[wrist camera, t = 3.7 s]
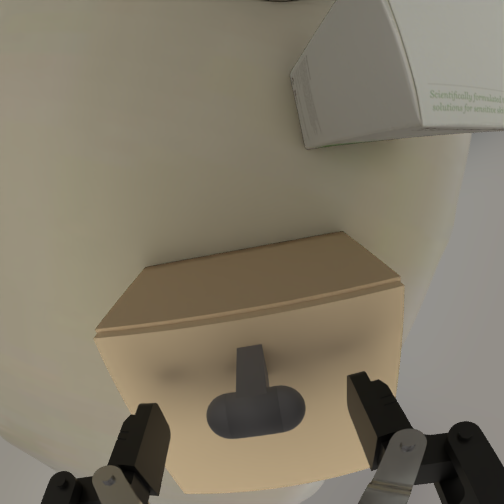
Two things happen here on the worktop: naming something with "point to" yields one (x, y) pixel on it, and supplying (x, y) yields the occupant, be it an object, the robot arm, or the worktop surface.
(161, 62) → the worktop surface
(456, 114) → the skincare box
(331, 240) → the carton
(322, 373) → the lid flap
